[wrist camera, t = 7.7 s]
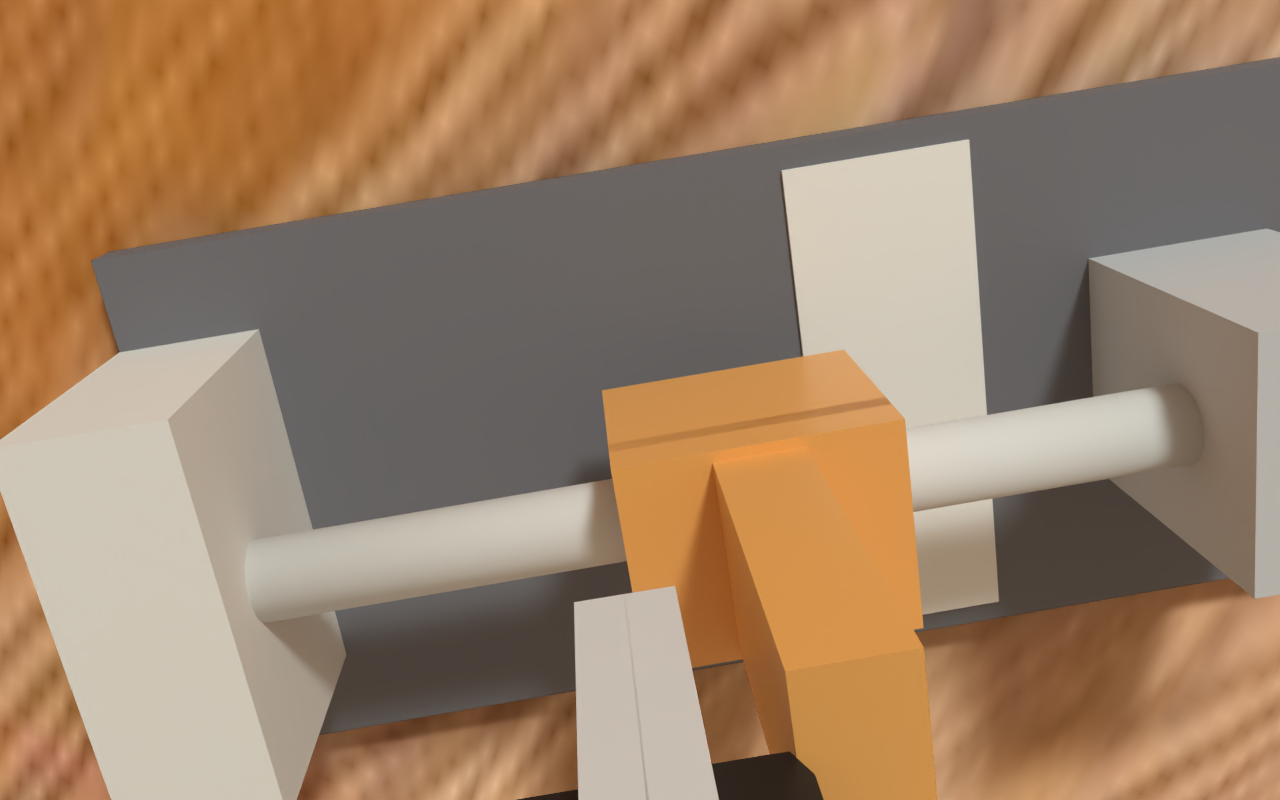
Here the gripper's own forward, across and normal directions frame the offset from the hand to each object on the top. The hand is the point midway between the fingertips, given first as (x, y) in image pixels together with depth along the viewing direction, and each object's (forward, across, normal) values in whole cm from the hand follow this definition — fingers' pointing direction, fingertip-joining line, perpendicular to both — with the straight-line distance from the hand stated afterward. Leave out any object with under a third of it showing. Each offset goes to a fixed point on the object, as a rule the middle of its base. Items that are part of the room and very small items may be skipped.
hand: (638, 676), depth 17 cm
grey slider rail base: (+11, +3, 0) cm, 11 cm away
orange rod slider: (+8, +3, 0) cm, 8 cm away
